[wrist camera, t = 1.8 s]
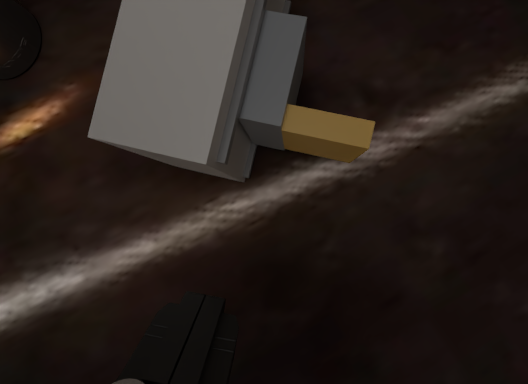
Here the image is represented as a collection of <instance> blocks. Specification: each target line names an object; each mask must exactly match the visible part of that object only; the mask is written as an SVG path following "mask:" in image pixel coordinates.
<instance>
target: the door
mask: <svg viewBox="0 0 528 384" xmlns="http://www.w3.org/2000/svg"><path fill="white" fill-rule="evenodd" d="M306 25H307V17H303V16H297V15H291V14H285V13H280V12H274V11H268V10H265V12H264V16H263V20H262V24H261V28H260V33H259V37H258V41H257V45H256V49H255V53H254V57H253V61H252V65H251V70H250V74H249V78H248V82H247V86H246V90H245V94H244V98H243V102H242V107H241V111H240V115H239V121H240V123H241V124H242V126H243V127H244V129H245V131H246V132H247V134H248V135H249V137H250V138H251V140H252V142H253V143H254V144H257V145H261V146H266V147H270V148H275V149H279V150H284V151H285V149H288V150H292V151H297V152H302V153H306V154H311V155H315V156H320V157H324V158H329V159H333V160H338V161H343V162H347V163H350V162H352V161H353V160H354V159H356V158H357V157H359V156H360V155H361V154H363V153H364V152H365V151H367V150H368V149H369V146H370V142H371V138H372V133H373V129H374V125H375V122H374V121H369V120H365V119H360V118H355V117H350V116H345V115H340V114H335V113H330V112H325V111H320V110H315V109H310V108H305V107H300V106H295V105H296V100H297V96H298V92H299V88H300V84H301V79H302V75H303V64H304V51H305V38H306Z"/></svg>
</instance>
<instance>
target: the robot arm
mask: <svg viewBox="0 0 528 384" xmlns="http://www.w3.org/2000/svg"><path fill="white" fill-rule="evenodd" d="M40 44H41V33H40V28H39V25H38V23H37V21H36V19H35V18H34V16H33V15H32V14H31V13H30V12H29V11H27V10H26V9H25V8H23V7H22V6H21V5H19V4H18V3H17V2H15V1H14V0H0V79H9V78H13V77H16V76H18V75H20V74H22V73H23V72H24V71H26V70H27V69H28V68H29V67H30V66H31V65H32V63H33V62H34V60H35V59H36V57H37V54H38V52H39V49H40ZM225 301H226V299H225V298H220V297H215V296H210V295H207V296H206V295H205V294H200V293H195V292H189V291H187V292H186V293H185V295H184V297H183V299H182V301H181V303H180V304H174V303H168V304H167V305H166V306H165V307H163V308H162V309H161V310H159V311H158V313H157V314H156V316H155V318H154V319H153V321H152V323H151V325H150V326H149V328H148V329H147V331H146V333H145V335H144V336H143V338H142V339H141V341H140V343H139V344H138V346H137V348H136V349H135V351H134V353H133V354H132V356H131V358H130V359H129V361H128V363H127V364H126V366H125V368H124V369H123V371H122V373H121V374H120V376H119V377H118V379H117V380H116V381H115V382H114V383H113V384H228V382H229V378H230V373H231V368H232V364H233V359H234V353H235V347H236V341H237V335H238V329H239V327H238V323H237V319H236V315H230V314H225V313H224V309H225Z"/></svg>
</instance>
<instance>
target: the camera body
mask: <svg viewBox="0 0 528 384" xmlns="http://www.w3.org/2000/svg"><path fill="white" fill-rule="evenodd" d="M290 8H291V1H288V0H122V3H121V7H120V11H119V15H118V19H117V23H116V27H115V31H114V35H113V38H112V42H111V46H110V50H109V54H108V58H107V62H106V66H105V70H104V74H103V78H102V82H101V86H100V90H99V93H98V97H97V101H96V105H95V109H94V113H93V117H92V121H91V125H90V129H89V133H88V137H89V138H92V139H95V140H98V141H101V142H104V143H107V144H110V145H113V146H116V147H119V148H122V149H125V150H128V151H131V152H134V153H137V154H140V155H143V156H146V157H149V158H152V159H155V160H158V161H161V162H164V163H167V164H170V165H173V166H176V167H180V168H185V169H189V170H193V171H197V172H202V173H206V174H210V175H214V176H219V177H223V178H227V179H231V180H236V181H240V182H245V178H250V174H251V170H252V166H253V162H254V157H255V153H256V149H257V144H254V143H253V142H252V140H251V138H250V137H249V135H248V134H247V132H246V131H245V129H244V127H243V126H242V124H241V123H240V121H239V115H240V111H241V107H242V102H243V98H244V94H245V90H246V86H247V82H248V78H249V74H250V70H251V65H252V61H253V57H254V53H255V49H256V45H257V41H258V37H259V33H260V28H261V24H262V20H263V16H264V12H265V10H268V11H274V12H280V13H285V14H289V12H290Z"/></svg>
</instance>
